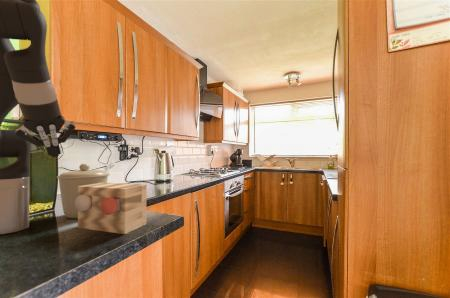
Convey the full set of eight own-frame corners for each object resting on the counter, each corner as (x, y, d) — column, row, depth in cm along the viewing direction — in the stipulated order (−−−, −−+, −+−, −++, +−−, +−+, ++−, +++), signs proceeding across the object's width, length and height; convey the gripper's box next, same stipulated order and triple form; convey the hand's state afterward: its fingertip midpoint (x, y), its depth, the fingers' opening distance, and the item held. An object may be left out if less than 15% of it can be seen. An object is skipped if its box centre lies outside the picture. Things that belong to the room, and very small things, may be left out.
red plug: (100, 214, 66) (100, 197, 66) (121, 207, 74) (121, 192, 74) (113, 215, 64) (113, 198, 64) (134, 208, 72) (134, 193, 72)
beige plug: (75, 210, 70) (75, 194, 71) (97, 204, 79) (98, 190, 79) (86, 211, 69) (87, 195, 69) (109, 205, 77) (109, 191, 77)
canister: (84, 223, 77) (84, 164, 78) (43, 220, 81) (44, 164, 81) (118, 210, 95) (118, 162, 95) (84, 208, 99) (84, 162, 99)
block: (77, 227, 73) (77, 186, 73) (102, 219, 82) (102, 182, 82) (125, 234, 67) (125, 188, 67) (146, 223, 76) (146, 184, 76)
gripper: (68, 91, 59) (80, 144, 68) (1, 93, 51) (24, 153, 60) (72, 101, 54) (84, 157, 63) (-2, 105, 46) (24, 168, 56)
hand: (55, 155), depth 62 cm, fingers closed
